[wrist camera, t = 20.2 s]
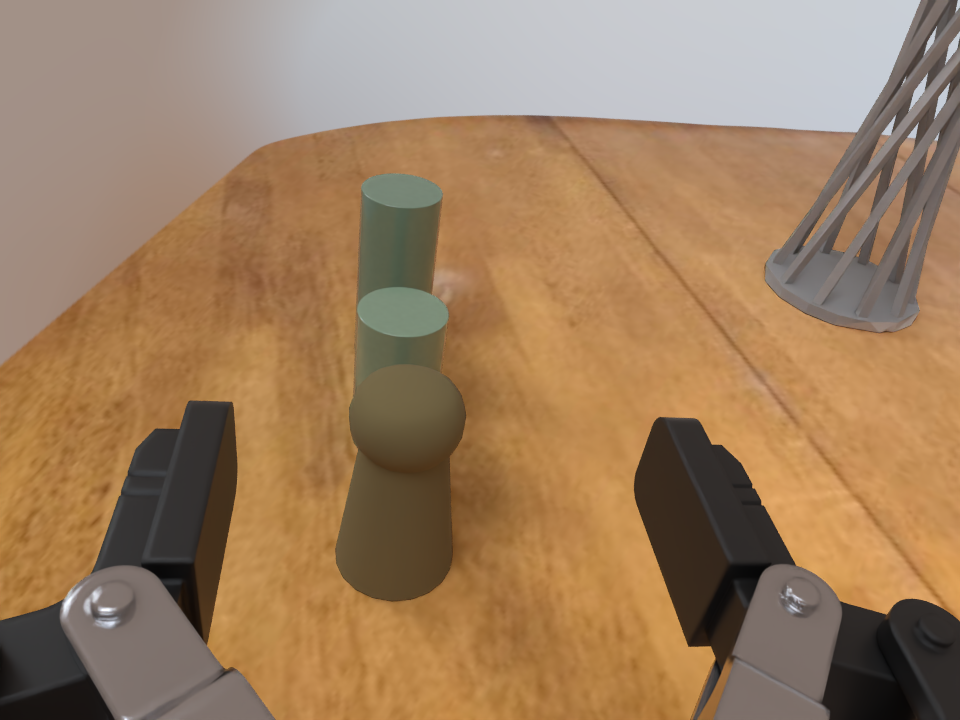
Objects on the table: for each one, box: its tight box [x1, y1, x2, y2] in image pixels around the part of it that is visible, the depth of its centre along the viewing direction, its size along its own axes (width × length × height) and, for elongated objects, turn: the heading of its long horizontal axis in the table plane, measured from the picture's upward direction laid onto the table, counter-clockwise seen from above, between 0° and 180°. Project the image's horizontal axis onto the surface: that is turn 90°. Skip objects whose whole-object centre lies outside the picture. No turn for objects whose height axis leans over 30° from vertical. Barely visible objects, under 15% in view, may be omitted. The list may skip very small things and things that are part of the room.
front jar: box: [352, 287, 449, 447], centre depth 45 cm, size 5×5×9 cm
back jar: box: [354, 174, 443, 347], centre depth 51 cm, size 5×5×12 cm
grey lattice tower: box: [765, 0, 960, 333], centre depth 61 cm, size 14×13×35 cm
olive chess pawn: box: [336, 364, 466, 601], centre depth 37 cm, size 6×6×11 cm
